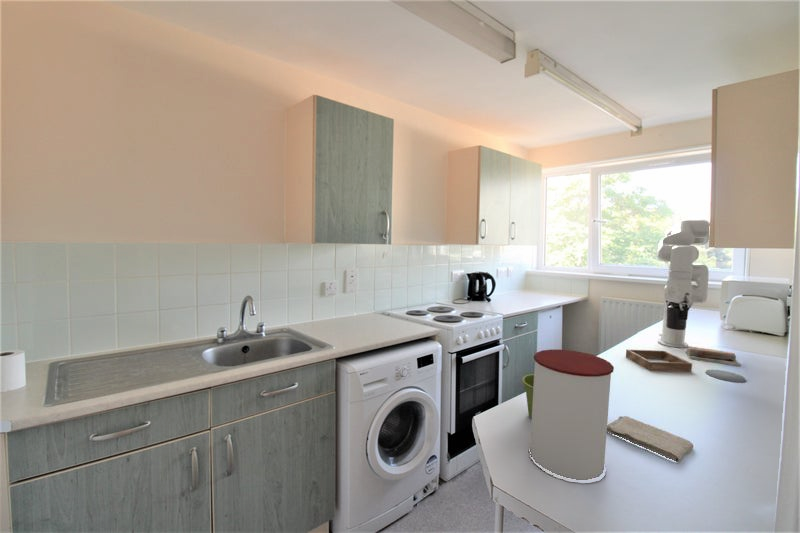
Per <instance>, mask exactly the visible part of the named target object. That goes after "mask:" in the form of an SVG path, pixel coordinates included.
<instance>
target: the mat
mask: <svg viewBox="0 0 800 533" xmlns="http://www.w3.org/2000/svg"><path fill="white" fill-rule="evenodd" d="M705 374H706V375H708V376H709V377H711V378H715V379H718V380H721V381H726V382H732V383H744V382H746V378H745V377H744V376H743V375H740V374H737V373H734V372H731V371H726V370H721V369H706V370H705Z"/></svg>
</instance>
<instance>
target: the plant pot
mask: <svg viewBox="0 0 800 533" xmlns="http://www.w3.org/2000/svg"><path fill="white" fill-rule="evenodd" d="M521 381H522V383H523V384H524V390H525V395H526V396H525V397H526V403H527V413H528V417H529V418H530V417H531V418H532V405H533V386H534V373H532V374H527V375H524V376H523V377H522V378H521ZM531 418H530V419H531Z"/></svg>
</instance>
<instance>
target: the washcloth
mask: <svg viewBox="0 0 800 533" xmlns="http://www.w3.org/2000/svg"><path fill="white" fill-rule="evenodd" d="M607 432H609V433H611V434H614V435H617V436H619V437H622V438H624V439H626V440H629V441H630V442H632V443H634V444H637V445H639V446H642V447H644V448H646V449H649V450H651V451H653V452H656V453H658V454H660V455H662V456H665V457H666V458H669V459H672V460H674V461H676V462H678V463H681V461H682V460H683V458H684V457H685V454H687V455H688V454H689V453H691V451H692V450H693V449H694V443H692V442H691V441H690V440H688V439H685V438H683V437H680V436H678V435H676V434H673V433H670V432H668V431H666V430H663V429H661V428H658V427H656V426H654V425H650V424H647V423H644V422H642V421H640V420H637V419H635V418H632V417H630V416H627V415H624V416H618V418H617V419H615V420H614V421H611V422H609V423H607ZM609 433H608V434H609Z"/></svg>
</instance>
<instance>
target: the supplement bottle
mask: <svg viewBox="0 0 800 533" xmlns="http://www.w3.org/2000/svg"><path fill="white" fill-rule="evenodd" d="M682 303H685V302H682ZM670 304H671V305H670V306H668V307H667V317H666V327H667V328H670V329H674V330H685V329H686V328H687V320H679V319H678V317H679V310H680V305H679V303H674V302H670ZM683 306H684V305H683ZM685 331H686V330H685Z"/></svg>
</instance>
